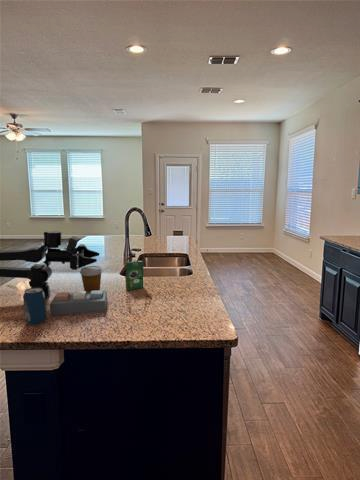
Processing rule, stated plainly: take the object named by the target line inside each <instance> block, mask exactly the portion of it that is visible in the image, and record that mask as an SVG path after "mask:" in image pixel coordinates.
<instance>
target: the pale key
mask: <svg viewBox="0 0 360 480" xmlns="http://www.w3.org/2000/svg"><path fill="white" fill-rule="evenodd" d="M74 299H86V291H74V294H73V300H74Z"/></svg>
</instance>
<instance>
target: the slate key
mask: <svg viewBox="0 0 360 480" xmlns="http://www.w3.org/2000/svg"><path fill="white" fill-rule="evenodd" d="M103 291H104V290H103V289H100V290H98V291H91V294H90V299H91V298H103Z"/></svg>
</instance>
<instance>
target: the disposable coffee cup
mask: <svg viewBox="0 0 360 480" xmlns="http://www.w3.org/2000/svg"><path fill="white" fill-rule="evenodd" d="M102 273H103V269H102V267H101V266H99V265H86V266H84V267H81V268H80V271H79V274H80V275H81V281H82V285H83V286H82V287H83V290H84V291H86V292H89V291H98V290H101V280H102Z"/></svg>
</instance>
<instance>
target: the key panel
mask: <svg viewBox="0 0 360 480" xmlns="http://www.w3.org/2000/svg"><path fill="white" fill-rule="evenodd" d="M74 292H75V291H74ZM74 292H69V295H70V297H69V299H68V300H57V301H56V300H55V296H56V295H57V293H56V294H55V295H54V297H53V298H52V300H51V301H50V302H49V313H50V316H62V315H61V314H66V315H79V314H80V313H81V314H95V313H106V308H107V303H108V290H103V298H91V299H90V294H91V291H89V292H86V299H74V300H73V294H74ZM81 314H80V315H81Z"/></svg>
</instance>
